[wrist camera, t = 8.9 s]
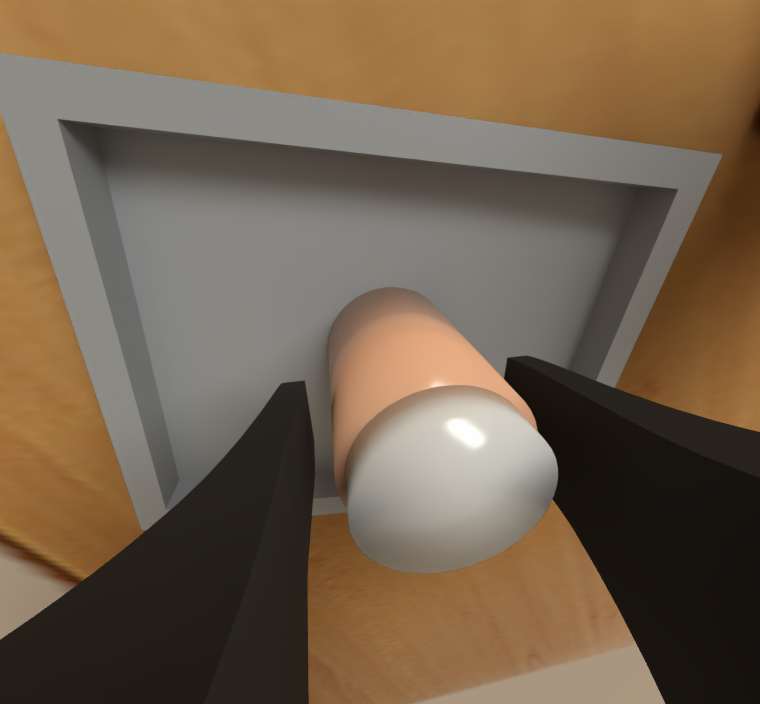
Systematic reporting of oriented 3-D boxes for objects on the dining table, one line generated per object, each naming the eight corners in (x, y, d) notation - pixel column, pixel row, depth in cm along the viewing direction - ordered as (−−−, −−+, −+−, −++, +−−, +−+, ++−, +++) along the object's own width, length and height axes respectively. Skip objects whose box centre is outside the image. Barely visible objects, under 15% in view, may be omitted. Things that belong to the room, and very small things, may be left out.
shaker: (448, 280, 12) (590, 389, 6) (445, 387, 14) (547, 555, 8) (319, 294, 11) (319, 430, 5) (336, 403, 13) (350, 597, 7)
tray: (661, 157, 12) (722, 154, 10) (540, 463, 18) (565, 494, 16) (51, 76, 8) (-21, 49, 7) (162, 487, 15) (141, 530, 13)
